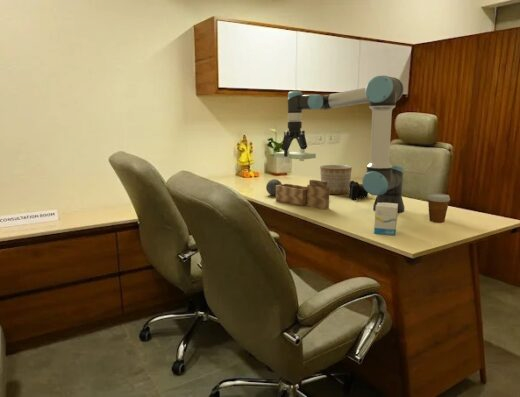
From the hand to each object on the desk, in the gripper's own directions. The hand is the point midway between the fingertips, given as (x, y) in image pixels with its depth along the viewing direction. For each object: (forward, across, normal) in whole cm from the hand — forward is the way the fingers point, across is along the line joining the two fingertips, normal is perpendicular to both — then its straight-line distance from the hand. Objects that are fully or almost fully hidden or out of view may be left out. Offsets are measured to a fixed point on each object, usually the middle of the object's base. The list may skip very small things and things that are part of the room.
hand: (294, 161), depth 217 cm
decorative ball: (+23, -6, -22) cm, 32 cm away
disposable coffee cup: (+23, -17, +73) cm, 78 cm away
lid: (-2, 0, 0) cm, 2 cm away
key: (+11, 0, +17) cm, 21 cm away
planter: (+23, -40, -2) cm, 46 cm away
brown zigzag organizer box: (+23, 0, +7) cm, 24 cm away
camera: (+23, -36, +18) cm, 46 cm away
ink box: (+23, +15, +66) cm, 72 cm away
